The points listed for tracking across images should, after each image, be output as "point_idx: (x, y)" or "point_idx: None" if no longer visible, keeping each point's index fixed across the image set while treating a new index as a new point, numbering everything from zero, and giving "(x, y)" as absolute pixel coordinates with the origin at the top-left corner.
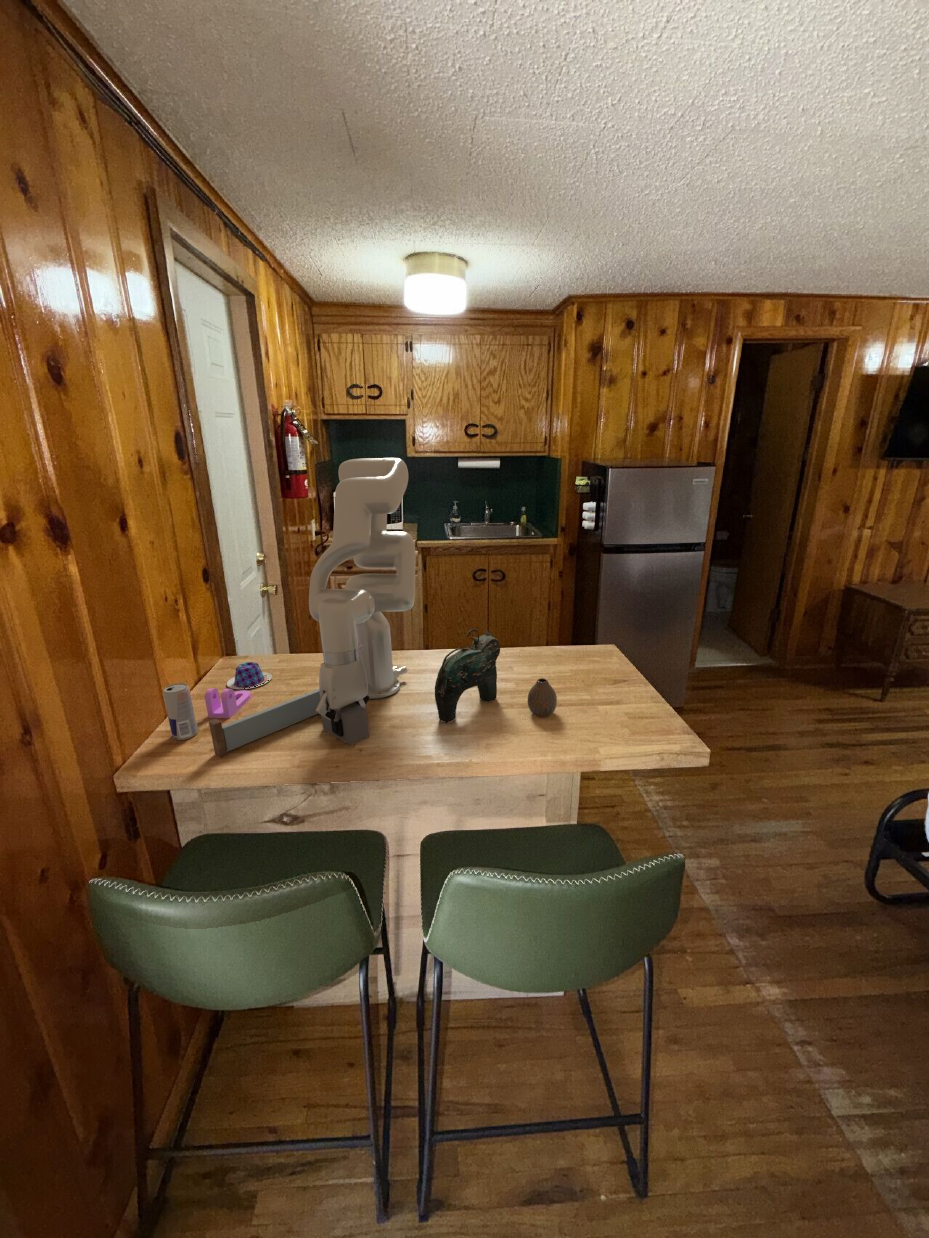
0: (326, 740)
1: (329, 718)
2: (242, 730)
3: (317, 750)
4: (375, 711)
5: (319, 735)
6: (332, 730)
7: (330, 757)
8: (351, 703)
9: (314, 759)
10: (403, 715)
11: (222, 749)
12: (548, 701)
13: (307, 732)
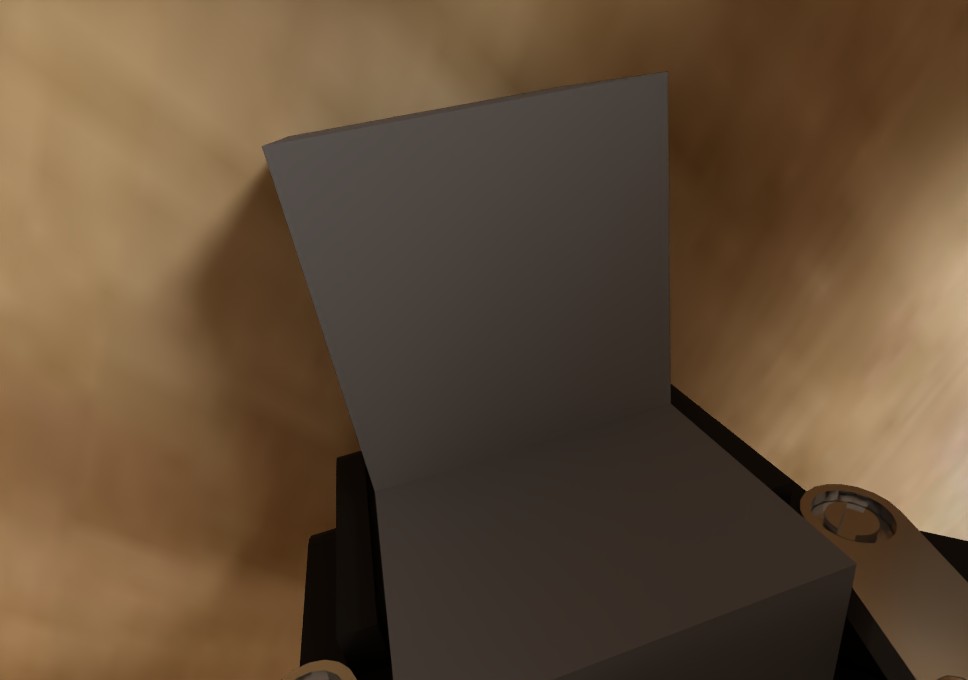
0: (250, 415)
1: (363, 342)
2: None
3: (107, 545)
4: (909, 139)
5: (199, 267)
6: (311, 550)
7: (206, 674)
8: (792, 654)
9: (49, 662)
10: (951, 364)
11: None
12: None
13: (34, 69)
